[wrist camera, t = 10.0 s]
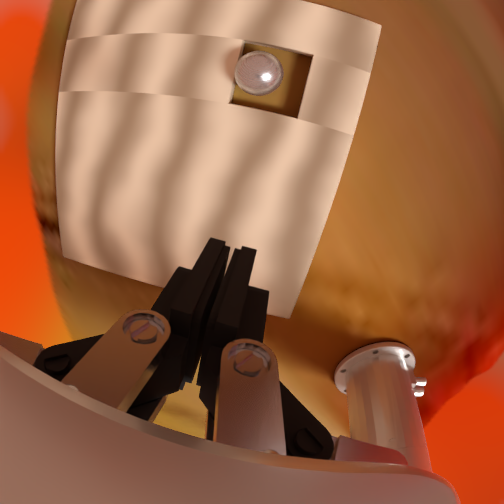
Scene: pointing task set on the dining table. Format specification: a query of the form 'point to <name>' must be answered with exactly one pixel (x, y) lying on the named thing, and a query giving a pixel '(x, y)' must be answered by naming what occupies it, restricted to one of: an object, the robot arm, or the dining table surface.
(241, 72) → the steel ball
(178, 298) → the robot arm
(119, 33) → the maple board
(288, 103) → the dining table surface
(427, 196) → the dining table surface
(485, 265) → the dining table surface
